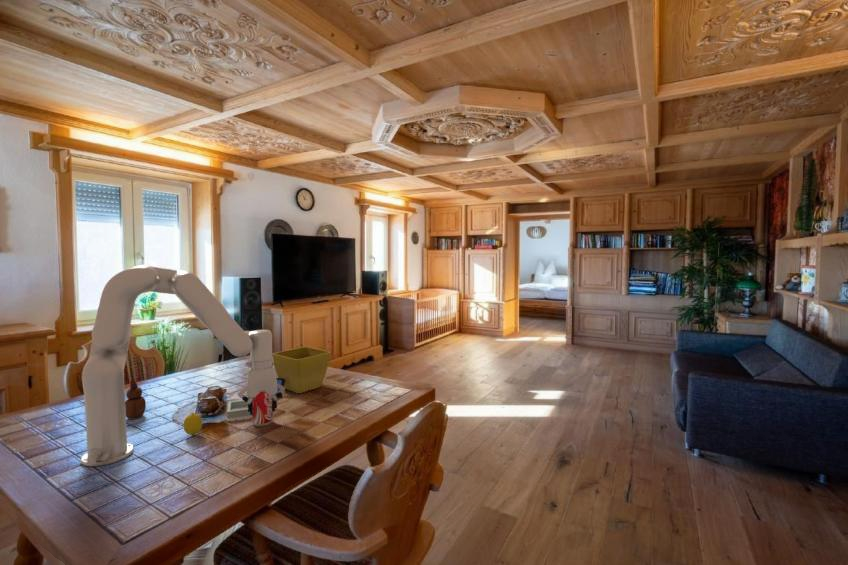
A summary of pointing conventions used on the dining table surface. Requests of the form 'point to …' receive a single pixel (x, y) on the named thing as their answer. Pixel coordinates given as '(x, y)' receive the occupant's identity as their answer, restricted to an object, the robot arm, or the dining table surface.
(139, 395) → the wooden figurine
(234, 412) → the holder
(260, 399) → the soda can
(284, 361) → the flower pot
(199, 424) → the lemon
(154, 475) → the dining table surface
